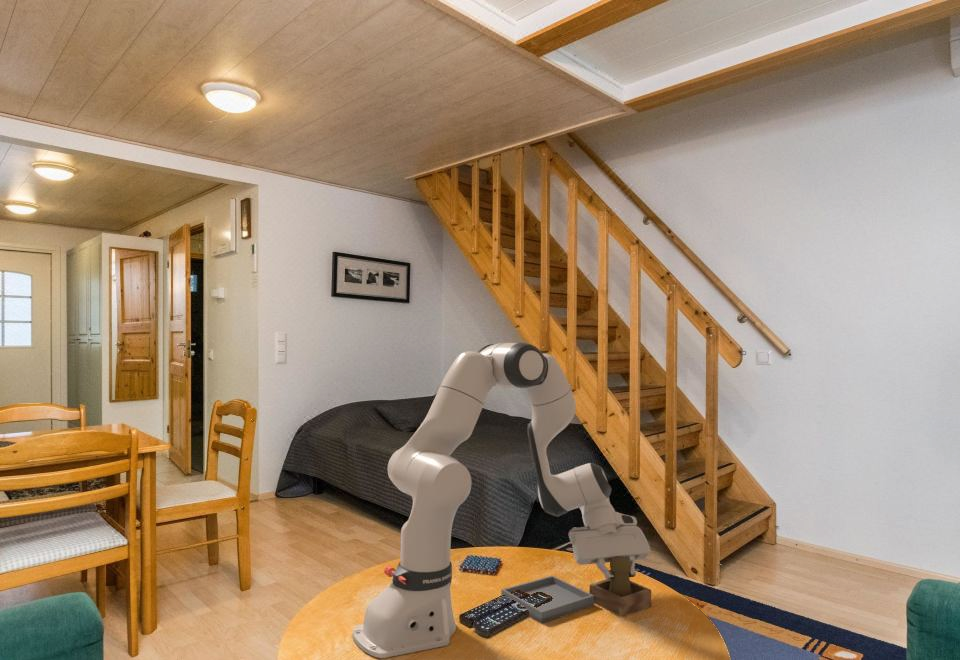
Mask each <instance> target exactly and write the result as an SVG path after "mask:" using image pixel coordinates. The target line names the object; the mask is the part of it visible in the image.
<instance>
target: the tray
mask: <svg viewBox="0 0 960 660" xmlns="http://www.w3.org/2000/svg"><path fill="white" fill-rule="evenodd" d="M516 590H520V591H523V592H526V593H528V594H533V593H536V592H543V593H545V594H547V595H550V596H552V598H553V599H552V601H550V602H548V603H545V604H542V605H541V606H539V607H537V608H536V607H534V606H532V605H531V604H529V603H527V602H525V601H524V600H522V599H520V598H518V597H517V596H515V595H513V594H511V593H510V592H512V591H516ZM500 594H501V595H500V597H501V596H503V595H506V596H508V597H509V598H511V599H512V600H514V601H516V602H518V603H520V604H521V605H522V606H524V607H526V608H527V609H528V611H529V616H528V617H530V618H531V619H533V620H534V621H537V622H538V623H540V624H544V623H547V622H550V621H551V622H552V621H553V620H557V619H559V618H563V617H566V616H568V615H572V614H575V613H577V612H580V611H584V610H586V609H589V608H592V607H594V606H595V603H594V595H592V594H590V592H588V591H586V590H583V589H581V588H579V587H578V586H576V585H573V584H571V583H569V582H566V581H565V580H563V579H561V578H559V577H557V576H554V575H549V576H546V577H541V578H538V579H535V580H531V581H527V582H524V583H519V584H517V585H513V586H509V587H506V588H502V589H501V593H500Z"/></svg>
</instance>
